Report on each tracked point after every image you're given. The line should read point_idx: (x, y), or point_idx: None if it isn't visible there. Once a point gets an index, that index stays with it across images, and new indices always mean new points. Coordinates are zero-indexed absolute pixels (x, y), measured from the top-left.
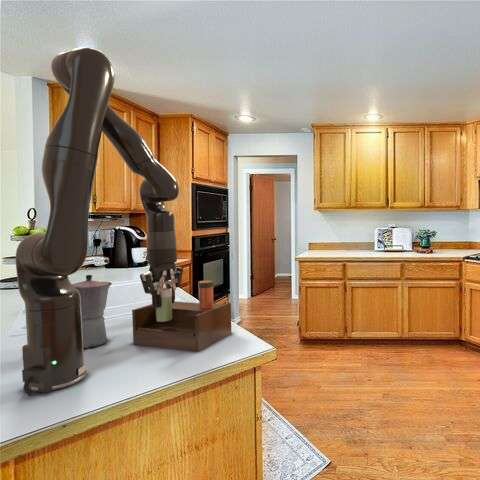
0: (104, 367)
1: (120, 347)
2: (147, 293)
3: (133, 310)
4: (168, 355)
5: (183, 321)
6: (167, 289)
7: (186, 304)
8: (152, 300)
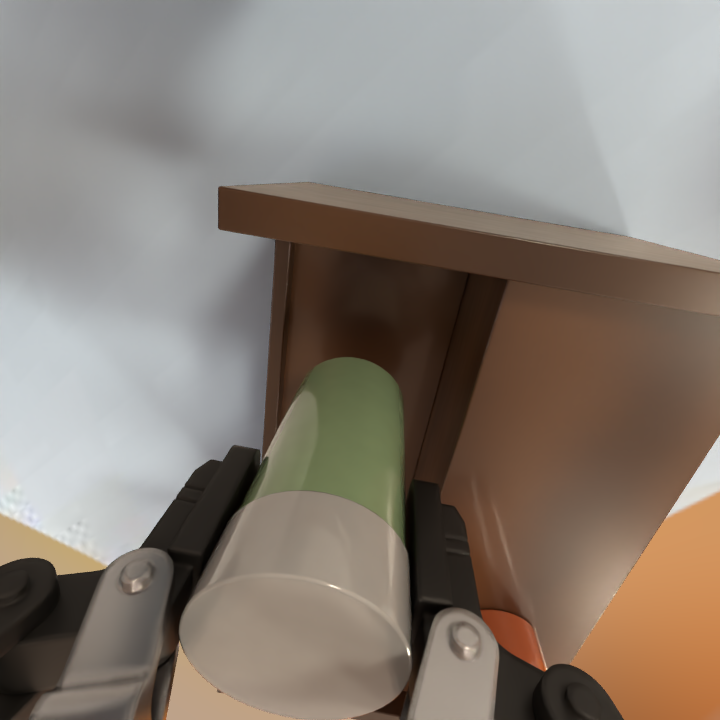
0: (33, 270)
1: (244, 140)
2: (36, 574)
3: (221, 206)
4: (216, 443)
5: (423, 467)
6: (299, 696)
7: (596, 498)
8: (172, 506)
